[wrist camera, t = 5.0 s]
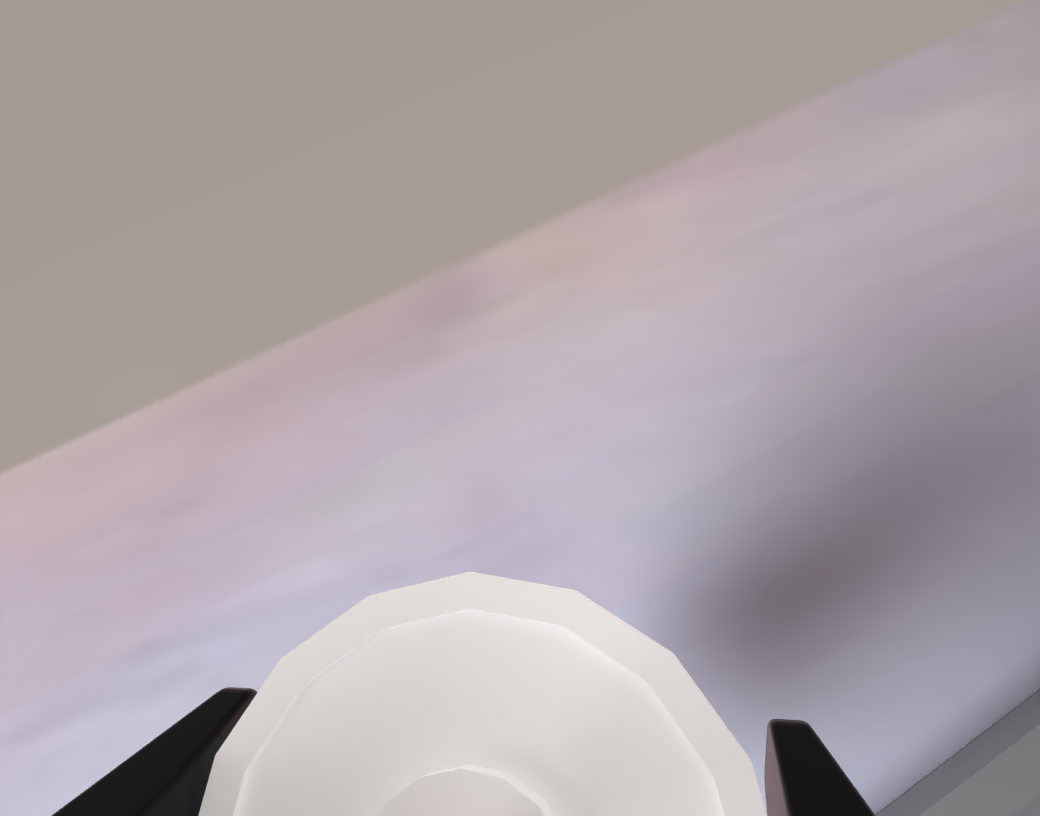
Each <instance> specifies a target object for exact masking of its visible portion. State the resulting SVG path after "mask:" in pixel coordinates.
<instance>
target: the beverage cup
mask: <svg viewBox="0 0 1040 816" xmlns="http://www.w3.org/2000/svg"><path fill="white" fill-rule="evenodd" d="M198 816H767V815H766V811H765V808H764V804H763V801H762V797H761V794H760V790H759V787H758V783H757V780H756V776H755V773H754V769H753V766H752V762H751V760H750V758H749V757H748V755H747V754H746V753H745V751H744V750H743V749H742V747H741V746H740V744H739V743H738V742H737V740H736V739H735V737H734V736H733V735H732V733H731V732H730V731H729V729H728V728H727V726H726V725H725V724H724V722H723V721H722V720H721V718H720V717H719V715H718V714H717V713H716V711H715V710H714V709H713V707H712V706H711V704H710V703H709V702H708V700H707V699H706V697H705V696H704V695H703V693H702V692H701V691H700V689H699V688H698V686H697V685H696V684H695V682H694V681H693V680H692V678H691V677H690V675H689V674H688V673H687V671H686V670H685V669H684V667H683V666H682V664H681V663H680V662H679V660H678V659H677V657H676V656H675V655H674V653H672V652H670V651H669V650H667V649H666V648H664V647H663V646H661V645H660V644H658V643H656V642H655V641H653V640H652V639H650V638H649V637H647V636H646V635H644V634H642V633H641V632H639V631H638V630H636V629H635V628H633V627H632V626H630V625H629V624H627V623H625V622H624V621H622V620H621V619H619V618H618V617H616V616H615V615H613V614H611V613H610V612H608V611H607V610H605V609H604V608H602V607H601V606H599V605H597V604H596V603H594V602H593V601H591V600H590V599H588V598H587V597H585V596H584V595H582V594H580V593H579V592H577V591H576V590H571V589H566V588H560V587H554V586H549V585H543V584H537V583H532V582H526V581H520V580H514V579H509V578H503V577H497V576H492V575H486V574H480V573H475V572H466V573H462V574H458V575H453V576H449V577H445V578H441V579H437V580H432V581H428V582H424V583H420V584H416V585H412V586H407V587H403V588H399V589H395V590H391V591H386V592H382V593H378V594H374V595H370V596H367V597H366V598H364V599H363V600H362V601H360V602H359V603H358V604H356V605H355V606H353V607H352V608H351V609H349V610H348V611H346V612H345V613H344V614H342V615H341V616H339V617H338V618H337V619H335V620H334V621H332V622H331V623H330V624H328V625H327V626H326V627H324V628H323V629H321V630H320V631H319V632H317V633H316V634H314V635H313V636H312V637H310V638H309V639H307V640H306V641H305V642H303V643H302V644H300V645H299V646H298V647H296V648H295V649H294V650H292V651H291V652H289V653H288V654H287V655H285V656H284V657H282V658H281V659H280V660H279V662H278V663H277V665H276V666H275V668H274V669H273V671H272V672H271V674H270V675H269V677H268V678H267V680H266V681H265V682H264V684H263V685H262V687H261V688H260V690H259V691H258V693H257V694H256V696H255V697H254V699H253V700H252V702H251V703H250V705H249V706H248V708H247V709H246V711H245V712H244V714H243V715H242V716H241V718H240V719H239V721H238V722H237V724H236V725H235V727H234V728H233V730H232V731H231V733H230V734H229V736H228V737H227V739H226V740H225V742H224V743H223V745H222V746H221V748H220V749H219V751H218V752H217V753H216V755H215V758H214V761H213V765H212V769H211V772H210V776H209V779H208V783H207V787H206V790H205V794H204V797H203V801H202V804H201V808H200V812H199V815H198Z"/></svg>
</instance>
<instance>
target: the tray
mask: <svg viewBox="0 0 1040 816" xmlns="http://www.w3.org/2000/svg"><path fill="white" fill-rule="evenodd" d="M875 816H1040V690H1039V691H1037V692H1036V693H1035V694H1034V695H1032V696H1031V697H1030V698H1028V699H1027V700H1026V701H1024V702H1023V703H1022V704H1020V705H1019V706H1018V707H1017V708H1015V709H1014V710H1013V711H1011V712H1010V713H1009V714H1007V715H1006V716H1005V717H1003V718H1002V719H1001V720H999V721H998V722H997V723H996V724H994V725H993V726H992V727H990V728H989V729H988V730H986V731H985V732H984V733H982V734H981V735H980V736H979V737H977V738H976V739H975V740H973V741H972V742H971V743H969V744H968V745H967V746H965V747H964V748H963V749H961V750H960V751H959V752H958V753H956V754H955V755H954V756H952V757H951V758H950V759H948V760H947V761H946V762H944V763H943V764H942V765H941V766H939V767H938V768H937V769H935V770H934V771H933V772H931V773H930V774H929V775H927V776H926V777H925V778H923V779H922V780H921V781H920V782H918V783H917V784H916V785H914V786H913V787H912V788H910V789H909V790H908V791H906V792H905V793H904V794H903V795H901V796H900V797H899V798H897V799H896V800H895V801H893V802H892V803H891V804H889V805H888V806H887V807H886V808H884V809H883V810H882V811H880V812H879V813H878V814H876V815H875Z"/></svg>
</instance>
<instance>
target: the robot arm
mask: <svg viewBox="0 0 1040 816" xmlns="http://www.w3.org/2000/svg"><path fill="white" fill-rule="evenodd" d="M257 693H258V692H257V691H256V690H254V689H250V688H233V687H229V688H224V689H222V690H220V691H219V692H217V693H216V694H214V695H213V696H212V697H210V698H209V699H208V700H206V701H205V702H204V703H202V704H201V705H200V706H198V707H197V708H196V709H194V710H193V711H192V712H190V713H189V714H187V715H186V716H185V717H183V718H182V719H181V720H179V721H178V722H177V723H175V724H174V725H173V726H171V727H170V728H169V729H167V730H166V731H165V732H163V733H162V734H161V735H159V736H158V737H157V738H155V739H154V740H153V741H151V742H150V743H149V744H147V745H146V746H144V747H143V748H142V749H140V750H139V751H138V752H136V753H135V754H134V755H132V756H131V757H130V758H128V759H127V760H126V761H124V762H123V763H122V764H120V765H119V766H118V767H116V768H115V769H114V770H112V771H111V772H110V773H108V774H107V775H106V776H104V777H103V778H102V779H100V780H99V781H97V782H96V783H95V784H93V785H92V786H91V787H89V788H88V789H87V790H85V791H84V792H83V793H81V794H80V795H79V796H77V797H76V798H75V799H73V800H72V801H71V802H69V803H68V804H67V805H65V806H64V807H63V808H61V809H60V810H59V811H57V812H56V813H55V814H53V815H52V816H198V815H199V812H200V808H201V804H202V801H203V797H204V794H205V790H206V787H207V783H208V779H209V776H210V772H211V769H212V765H213V761H214V758H215V755H216V753H217V752H218V751H219V749H220V748H221V746H222V745H223V743H224V742H225V740H226V739H227V737H228V736H229V734H230V733H231V731H232V730H233V728H234V727H235V725H236V724H237V722H238V721H239V719H240V718H241V716H242V715H243V714H244V712H245V711H246V709H247V708H248V706H249V705H250V703H251V702H252V700H253V699H254V697H255V696H256V694H257ZM765 793H766V803H767V814H768V816H875V814H874V813H873V812H872V810H871V809H870V808H869V806H868V805H867V803H866V802H865V801H864V799H863V798H862V796H861V795H860V794H859V792H858V791H857V790H856V788H855V787H854V785H853V784H852V783H851V781H850V780H849V778H848V777H847V776H846V774H845V773H844V772H843V770H842V769H841V767H840V766H839V765H838V763H837V762H836V761H835V759H834V758H833V756H832V755H831V754H830V752H829V751H828V749H827V748H826V747H825V745H824V744H823V743H822V741H821V740H820V738H819V737H818V736H817V734H816V733H815V732H814V730H813V729H812V728H811V726H810V725H809V724H808V723H806V722H804V721H801V720H785V719H773V720H771V721H769V723H768V727H767V740H766V756H765Z"/></svg>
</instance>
